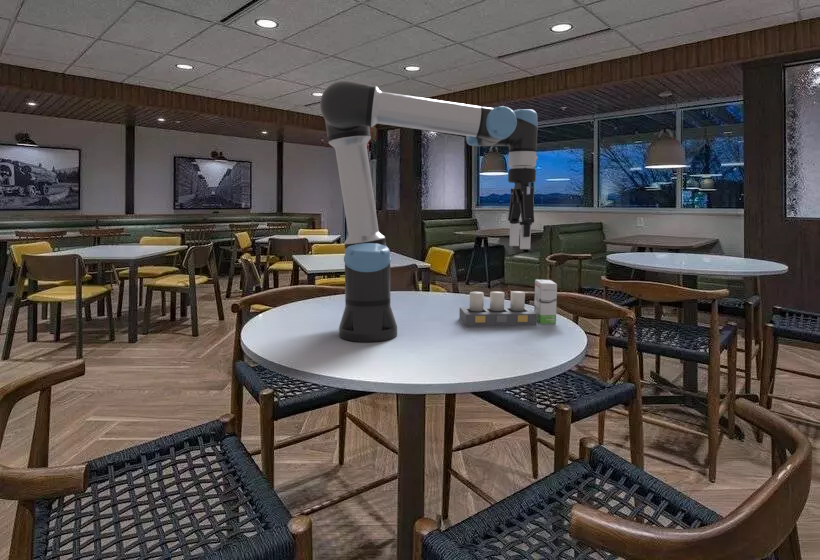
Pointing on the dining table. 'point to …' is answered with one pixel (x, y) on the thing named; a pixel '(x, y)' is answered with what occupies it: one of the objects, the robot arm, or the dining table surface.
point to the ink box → (545, 301)
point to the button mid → (497, 301)
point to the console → (497, 317)
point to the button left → (476, 301)
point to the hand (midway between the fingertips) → (519, 247)
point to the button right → (517, 300)
